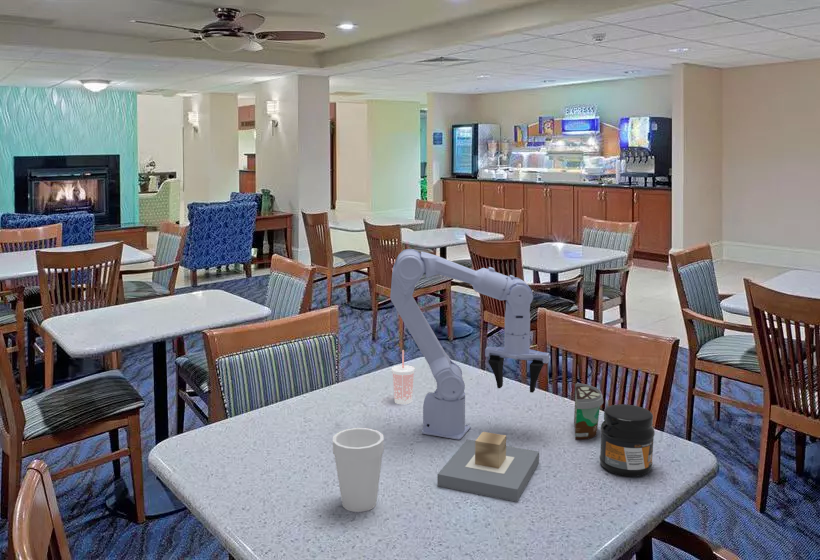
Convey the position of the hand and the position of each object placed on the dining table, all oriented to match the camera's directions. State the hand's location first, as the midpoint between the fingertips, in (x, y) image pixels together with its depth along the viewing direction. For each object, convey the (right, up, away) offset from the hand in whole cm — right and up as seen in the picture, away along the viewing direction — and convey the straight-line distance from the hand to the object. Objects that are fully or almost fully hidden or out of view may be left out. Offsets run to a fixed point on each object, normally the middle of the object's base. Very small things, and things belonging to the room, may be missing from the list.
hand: (516, 389), depth 160 cm
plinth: (-8, -14, -19) cm, 25 cm away
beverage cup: (-26, -7, +22) cm, 35 cm away
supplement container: (+20, -14, -16) cm, 29 cm away
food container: (+17, -11, +1) cm, 20 cm away
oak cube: (-8, -12, -19) cm, 24 cm away
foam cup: (-34, -17, -31) cm, 49 cm away
